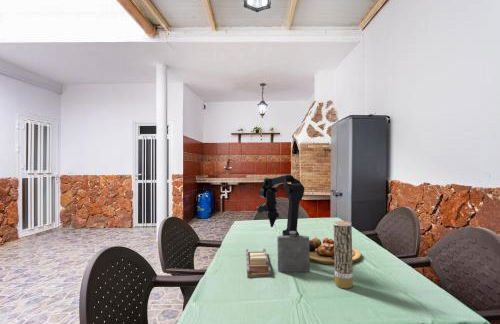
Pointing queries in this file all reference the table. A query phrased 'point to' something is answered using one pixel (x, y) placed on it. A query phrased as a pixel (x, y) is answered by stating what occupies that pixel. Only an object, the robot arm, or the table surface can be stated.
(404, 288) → the table surface
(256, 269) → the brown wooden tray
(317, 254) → the wooden plate with food
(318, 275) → the table surface
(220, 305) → the table surface
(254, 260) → the cream square block
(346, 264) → the tree log
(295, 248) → the flask
